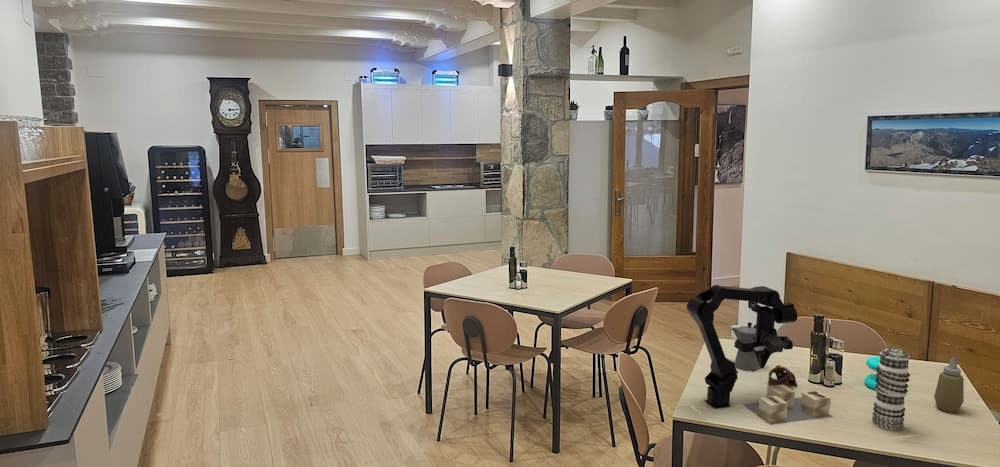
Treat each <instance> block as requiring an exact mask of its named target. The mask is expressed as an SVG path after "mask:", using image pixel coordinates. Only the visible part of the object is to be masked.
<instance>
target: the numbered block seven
mask: <svg viewBox="0 0 1000 467" xmlns="http://www.w3.org/2000/svg"><path fill="white" fill-rule="evenodd" d="M801 398H802V399H801V410H802V411H804V412H806V413H807V414H809V415H810V416H812V417H820V416H827V415H829V414H830V410H831V409H830V408H831V400H832V399H831V397H830V396H828V395H826V394H824V393H823V392H821V391H819V390H811V391H810V390H809V391H802V392H801Z"/></svg>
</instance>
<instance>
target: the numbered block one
mask: <svg viewBox="0 0 1000 467" xmlns="http://www.w3.org/2000/svg"><path fill="white" fill-rule="evenodd" d="M758 400H759V402H758V403H759V412H758V415H759V416H761V417H762V418H764V419H765V420H766V421H768V422H769V423H774V422H782V421H786V420H787V407H788V403H787V402H785V401H783V400H782V399H780V398H779V397H777V396H768V397H767V396H761V397H759V399H758ZM758 415H757V416H758ZM759 416H758V417H759ZM762 418H761V419H762ZM765 420H764V421H765ZM766 421H765V422H766ZM769 423H768V424H769Z"/></svg>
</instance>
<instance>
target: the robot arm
mask: <svg viewBox="0 0 1000 467" xmlns="http://www.w3.org/2000/svg"><path fill="white" fill-rule="evenodd" d="M780 297H781V296H780V293H779V291H777V290H775V289H773V288H770V287H767V286H763V285H762V286H754V287H751V288H750V287H749V288H747V287H745V288H744V287H737V286H727V285H720V284H714V285H712V286H711V287H710V288H709V289H707V290H704V291H702V292H699V293H698V294H697V295H695V297H692V298H690V299H689V300H688V302H687V304H686V310H687V312H688V313H689V315H690V316H691V318H692V319H693V320H694V322H695V323H696V324H697V325H698V328H699V331H700V333H701V336H702V338H703V340H704V344H705V347H706V349H707V352H708V354H709V358H710V360H711V362H710V367H709V368H710V372H708V374H707V375H706V376H705V377H704V381H705V384H706V385H707V393H706V399H704V402H705V403H707V404H708V405H709V406H710V407H711V408H713V409H722V408H723V409H724V408H730V407H732V405H731V404H730V400H731V399H730V397H731V393H732V392H733V389H734V387H735V383H737V380H738V374H739V372H738V370H737V367H736V366H735V361H732V360H731V359H729V358H727V357H726V355H725V352H724V350H723V346H722V344H721V342H720V339H719V336H718V333H717V331H716V328H715V325H714V319H715V314H714V312H715V311H717V310H718V309H719V307H721V304H722V302H723V301H725V300H734V301H743V302H744V301H746V302H754V303H756V304H755V306H753V307H752V308H750V310H751V311H752V312H754V313H756V319H755V320H756V321H755V322H756V323H755V324H754V325H753V327H754V328H755V329H756V333H755V336H753V340H755V342H751V341H749V340H747V339H737V338H736V340H735V341H734V346H733V347H734V348H736V349H737V350H740V351H742V352H752V351H753V352H754V354H755V356H756V358H757V361H758V364H759V366H760V368H759V369H765V367H766V364H768V361H769V359H770V357H771V356H772V354H774V353H782V352H783V351H784V350H792V349H793V347H794V343H793V341H792V340H791V339H790V338H789V336H786V335H785V336H781V335H779V336H778V331H777V328H775V323H776V324H779V325H780V324H791V323H792V324H793V323H795V322H796V321H797V320H798V316H799V314H798V312H797V310H796V308H795V304H794V303H793V302H784V303H783V301H782V300H781V298H780Z"/></svg>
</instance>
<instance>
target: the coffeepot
mask: <svg viewBox="0 0 1000 467" xmlns="http://www.w3.org/2000/svg"><path fill="white" fill-rule="evenodd" d="M752 325H753V323H752V322H750V321H749V322H747V326H743V325H742V326H739V327H737V326H736V327H732V328H731V331H732V332H733V334H734V335H735V337H736V340H737V339H747V340H749V341H751V342H755V340H753V336H755V333H756V329H755V328H754V326H752ZM734 363H735V367H736V369H739V370H742V371H747V372H753V371H754V372H755V371H758V370H759V369H761V368H760V366H759V364H758V361H757V358H756V356H755V354H754V352H753V351H752V352H742V351H740V350H739V349H737V352H736V356H735V361H734Z"/></svg>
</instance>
